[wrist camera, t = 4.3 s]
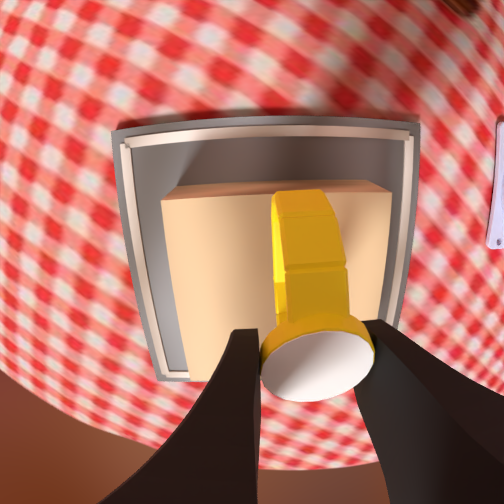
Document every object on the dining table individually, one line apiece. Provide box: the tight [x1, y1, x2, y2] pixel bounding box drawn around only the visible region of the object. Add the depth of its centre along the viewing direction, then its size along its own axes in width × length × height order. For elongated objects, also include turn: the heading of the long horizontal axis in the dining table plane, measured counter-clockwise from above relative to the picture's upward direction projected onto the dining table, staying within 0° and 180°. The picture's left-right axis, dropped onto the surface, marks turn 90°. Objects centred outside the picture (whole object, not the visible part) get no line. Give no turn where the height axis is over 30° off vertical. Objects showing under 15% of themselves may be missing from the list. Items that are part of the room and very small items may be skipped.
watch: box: [260, 189, 375, 402], centre depth 10 cm, size 6×3×6 cm, turn 4°
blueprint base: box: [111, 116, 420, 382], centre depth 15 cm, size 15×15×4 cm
